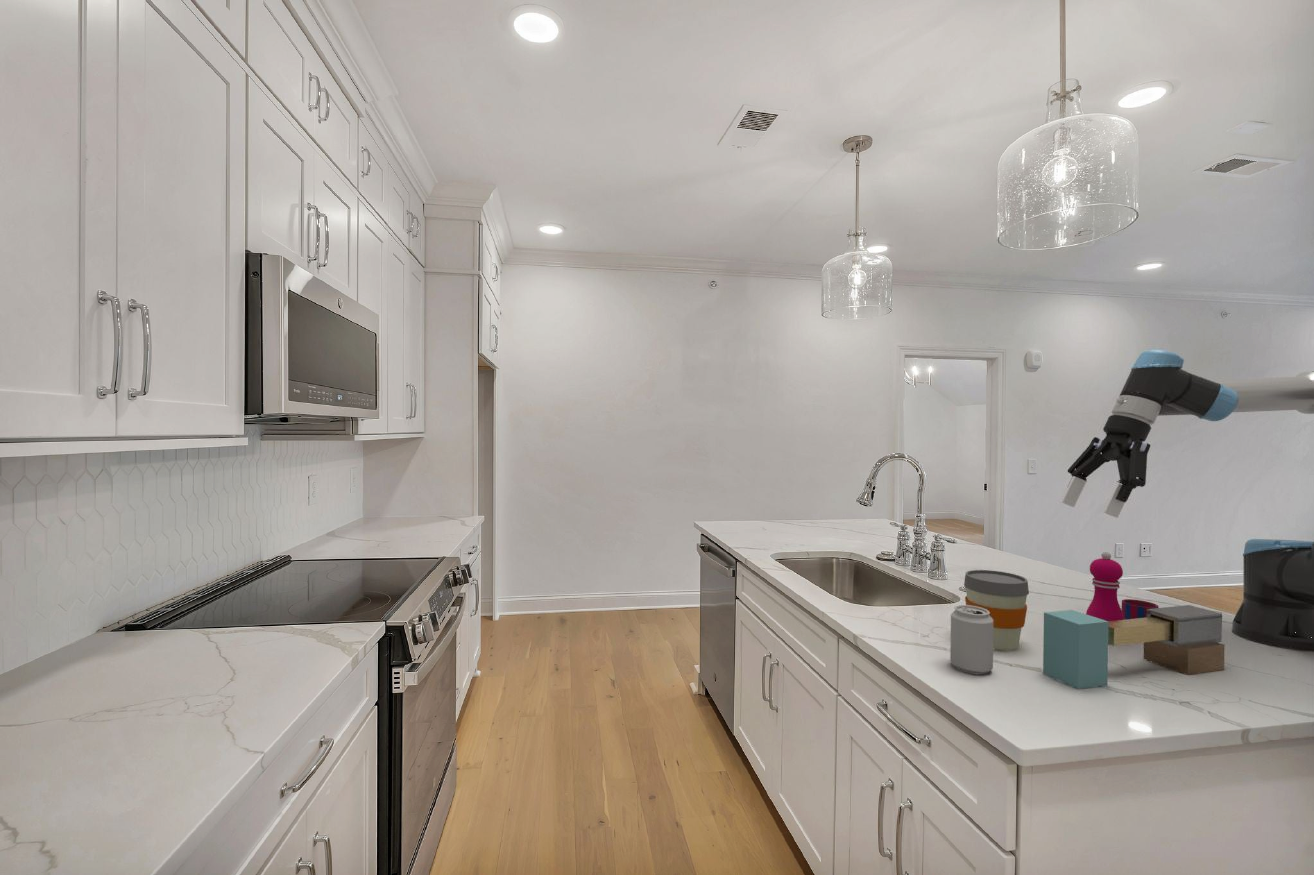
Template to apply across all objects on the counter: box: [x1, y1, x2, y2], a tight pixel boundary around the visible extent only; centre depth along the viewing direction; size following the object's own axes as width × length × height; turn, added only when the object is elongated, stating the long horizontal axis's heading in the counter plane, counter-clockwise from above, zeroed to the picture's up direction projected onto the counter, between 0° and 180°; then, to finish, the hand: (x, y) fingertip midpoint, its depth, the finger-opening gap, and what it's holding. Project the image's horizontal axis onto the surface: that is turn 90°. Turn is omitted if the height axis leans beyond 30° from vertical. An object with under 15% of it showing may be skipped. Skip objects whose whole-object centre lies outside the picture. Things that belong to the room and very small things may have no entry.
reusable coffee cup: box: [963, 569, 1030, 651], centre depth 128 cm, size 13×13×15 cm
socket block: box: [1042, 609, 1109, 690], centre depth 109 cm, size 7×7×12 cm
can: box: [949, 604, 994, 675], centre depth 114 cm, size 8×8×12 cm
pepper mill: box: [1085, 551, 1125, 621], centre depth 131 cm, size 7×7×20 cm
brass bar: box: [1108, 616, 1174, 647], centre depth 115 cm, size 28×3×3 cm, turn 105°
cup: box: [1121, 598, 1160, 620], centre depth 134 cm, size 7×10×7 cm
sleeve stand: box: [1143, 604, 1225, 676], centre depth 116 cm, size 12×8×11 cm, turn 105°
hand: (1087, 509), depth 124 cm, fingers open, 13 cm apart
